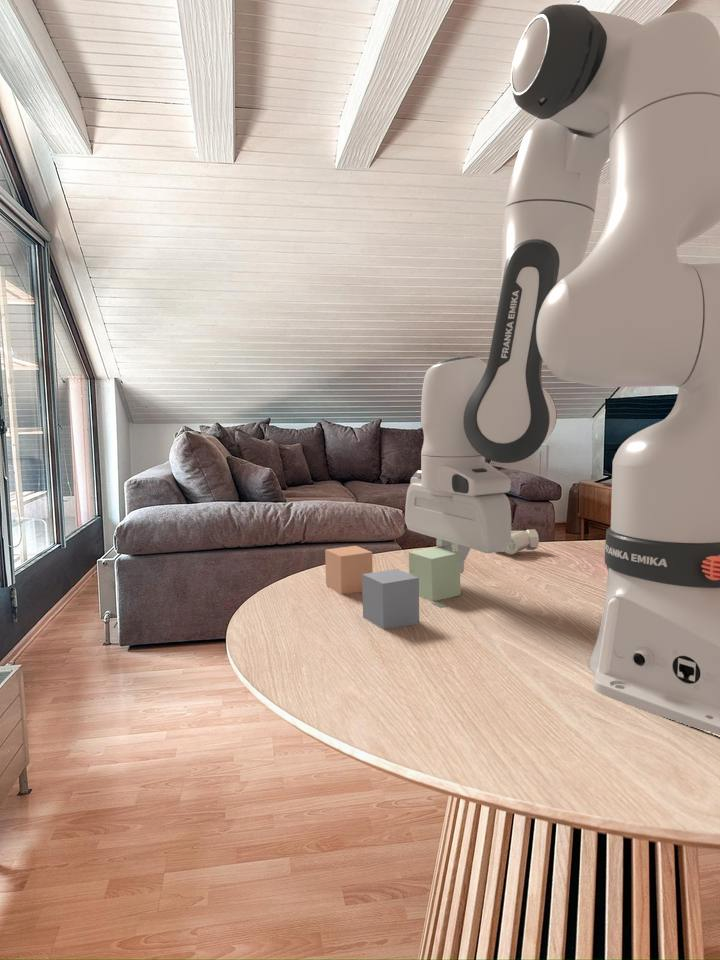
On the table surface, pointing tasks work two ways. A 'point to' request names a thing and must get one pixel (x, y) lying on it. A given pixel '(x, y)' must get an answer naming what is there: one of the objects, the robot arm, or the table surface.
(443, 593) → the sage block
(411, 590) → the slate block
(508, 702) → the table surface
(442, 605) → the small gray-green block
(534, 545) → the pipe fitting
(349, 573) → the terracotta block
